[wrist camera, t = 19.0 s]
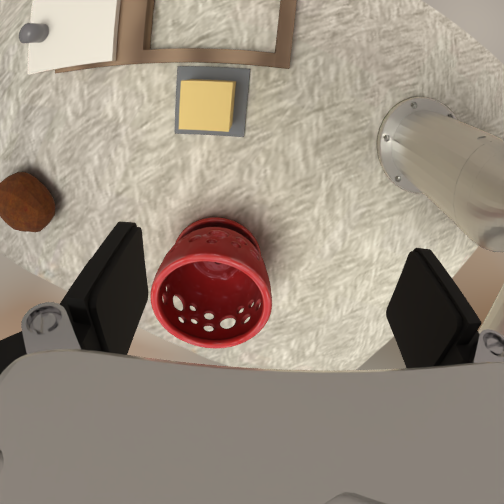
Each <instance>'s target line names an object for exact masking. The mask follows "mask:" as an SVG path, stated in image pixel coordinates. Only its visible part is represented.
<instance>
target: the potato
mask: <svg viewBox="0 0 504 504" xmlns="http://www.w3.org/2000/svg"><path fill="white" fill-rule="evenodd" d="M54 215H55V203H54V200H53V197H52V195H51V194H50V192H49V191H48V189H47V188H46V187H45V186H44V185H43V184H42V183H41V182H40V181H39V180H38V179H37V178H36V177H34V176H32V175H30V174H28V173H26V172H17V173H15V174H12V175H10V176H8V177H7V178H6V179H4V180H3V181H2V182H1V183H0V216H1V218H2V219H3V220H4V221H5V222H6V223H7V224H8V225H9V226H10V227H12V228H13V229H15V230H19V231H30V232H39V231H41V230H42V229H43V228H44V227H46V226H47V225H48V224H49V222H50V221H51V220H52V218H53V216H54Z"/></svg>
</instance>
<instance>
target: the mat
mask: <svg viewBox="0 0 504 504" xmlns="http://www.w3.org/2000/svg"><path fill="white" fill-rule="evenodd" d="M249 76H250V69H243V68H227V67H197V66H178V69H177V86H176V108H175V133H178V134H203V135H221V136H235V137H244V130H245V119H246V108H247V97H248V86H249ZM189 79H204V80H226V81H236V87H235V98H234V110H233V122H232V126H231V128H230V130H229V132H224V131H207V130H186V129H179V108H180V89H181V81H182V80H189Z"/></svg>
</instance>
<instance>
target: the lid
mask: <svg viewBox="0 0 504 504" xmlns="http://www.w3.org/2000/svg"><path fill="white" fill-rule="evenodd" d="M120 2H121V0H33V2H32V11H31V20H30V23H27V24H25V25H24V26H23V27H22V28H21V30H20V33H19V40H20V41H21V42H22V43H29V47H28V75H29V74H35V73H39V72H44V71H49V70H54V69H60V68H65V67H71V66H77V65H84V64H91V63H99V62H108V61H116V48H117V33H118V21H119V11H120Z"/></svg>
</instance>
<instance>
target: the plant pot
mask: <svg viewBox="0 0 504 504" xmlns="http://www.w3.org/2000/svg"><path fill="white" fill-rule="evenodd" d="M166 286H167V291H166ZM174 295H175V296H177V297H178V298H179V299H180V300H181V302H182V304H183V310H182V311H180V310H178V309H176V308H175V307H174V304H173V297H174ZM162 296H163V299H164V303H163V300H162ZM150 297H151V304H152V309H153V311H154V313H155V315H156V317H157V319H158V321H159V322H160V323H161V325H162V326H163V327H164V328H165V329H166V330H167V331H168V332H169V333H171V334H172V335H174V336H175V337H177V338H179V339H180V340H182V341H185V342H187V343H190V344H192V345H196V346H200V347H205V348H226V347H232V346H235V345H238V344H241V343H243V342H246V341H247V340H249V339H251V338H252V337H254V336H255V335H256V334H257V333H259V332H260V330H261V329H262V328H263V327H264V326H265V324H266V323H267V321H268V319H269V316H270V314H271V309H272V295H271V286H270V281H269V277H268V274H267V271H266V267H265V264H264V261H263V259H262V257H261V251H260V247H259V245H258V242H257V241H256V239H255V237H254V236H253V235H252V234H251V232H250V231H249V230H247V229H246V228H245V227H244V226H242V225H241V224H239V223H237V222H235V221H232V220H229V219H225V218H206V219H202V220H199V221H196V222H194V223H192V224H191V225H189V226H188V227H187V228H185V229H184V230H183V232H182V233H181V234H180V235H179V237H178V239H177V241H176V243H175V245H174V246H173V247H172V248H171V249H170V251H169V252H168V253H167V254H166V256H165V257H164V260H163V262H162V263H161V265H160V267H159V269H158V271H157V273H156V276H155V278H154V281H153V284H152V288H151V296H150ZM253 302H254V305H253V306H252V307H251V305H252V303H253ZM260 303H261V304H260ZM259 305H260V307H259ZM190 306H193V307H195V309H196V311H192V310H191V309H190ZM242 308H244V310H243V312H242V313H239V311H240V310H241V309H242ZM206 313H211V314H213V315H214V318H213V319H211V320H209V319H206V318H205V317H204V314H206ZM178 317H181V318H182V319H183V320H184V323H182V322H180V321H179V318H178ZM248 317H250V319H249V321H248V322H246V323H244V322H245V320H246V319H247V318H248ZM227 318H234V319H235V320H236V323H235V325H234V326H233V327H231V328H229V329H224V328H222V327H221V326H220V323H221V321H222V320H224V319H227ZM191 319H195V320H196V321H197V322H198V323H197V324H194V323H192V322H191ZM205 326H212V327H213V328H214V330H213V331H210V332H209V331H205V330H204V327H205Z"/></svg>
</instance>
